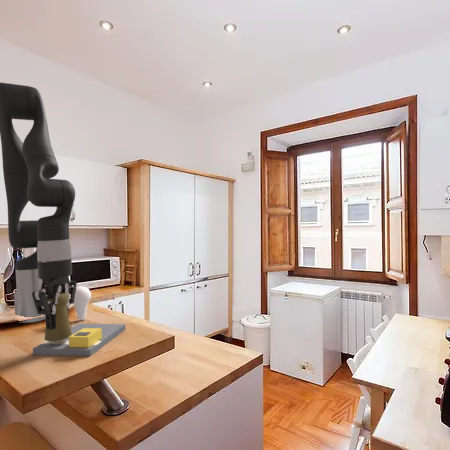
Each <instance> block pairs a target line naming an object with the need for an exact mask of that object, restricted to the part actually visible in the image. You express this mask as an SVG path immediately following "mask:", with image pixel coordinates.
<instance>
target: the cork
mask: <svg viewBox="0 0 450 450" xmlns="http://www.w3.org/2000/svg"><path fill="white" fill-rule="evenodd" d="M53 300H54V298H53V299H48V298H47V301H53ZM67 303H68V295H67V294H66V293H60V296H59V298H58V303H57V304H56V312H55V314H56V328H55V329H54V330H51V329H50V330H48V329H47V328H46V327H45V330H44V331H45V333H44V340H45V341H58V340H63V339H66V338H68V337H69V336H71V335H72V333H71V327H72V326H71V323H70V316H69V317H68V312H67V307H66V304H67ZM49 307H50V309H51V304H49Z"/></svg>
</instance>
